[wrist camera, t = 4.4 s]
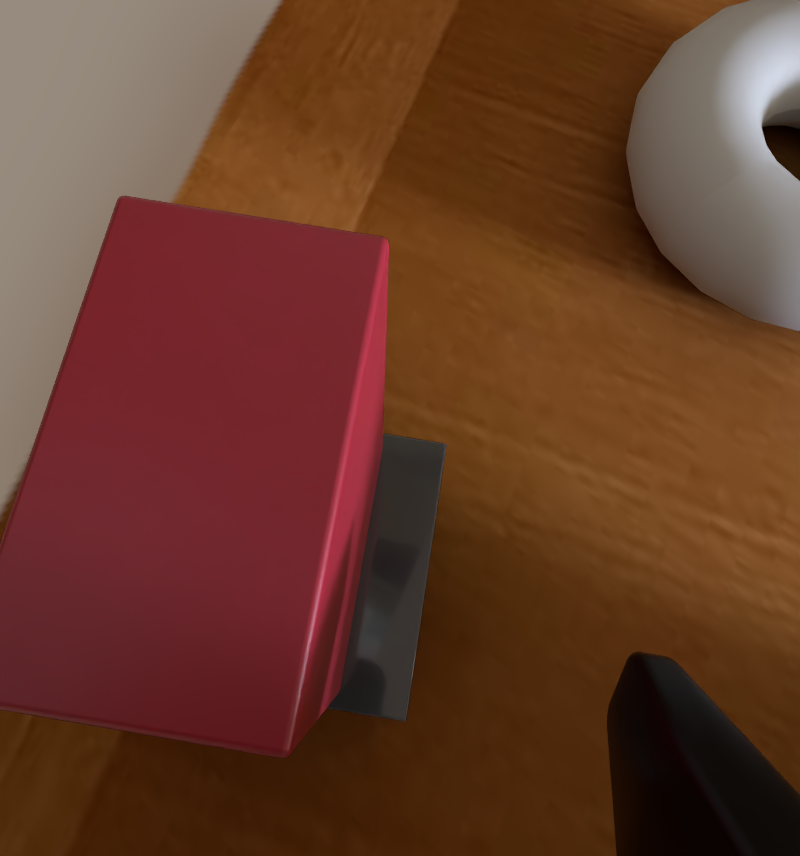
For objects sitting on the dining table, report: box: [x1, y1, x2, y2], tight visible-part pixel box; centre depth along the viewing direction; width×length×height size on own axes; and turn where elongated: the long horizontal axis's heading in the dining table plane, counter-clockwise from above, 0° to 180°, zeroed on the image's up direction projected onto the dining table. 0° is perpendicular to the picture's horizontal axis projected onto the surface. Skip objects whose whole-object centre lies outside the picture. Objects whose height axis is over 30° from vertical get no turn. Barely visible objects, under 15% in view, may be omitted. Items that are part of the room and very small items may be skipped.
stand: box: [327, 433, 447, 722], centre depth 14 cm, size 5×5×4 cm
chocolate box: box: [0, 196, 389, 758], centre depth 9 cm, size 4×3×7 cm, turn 171°
